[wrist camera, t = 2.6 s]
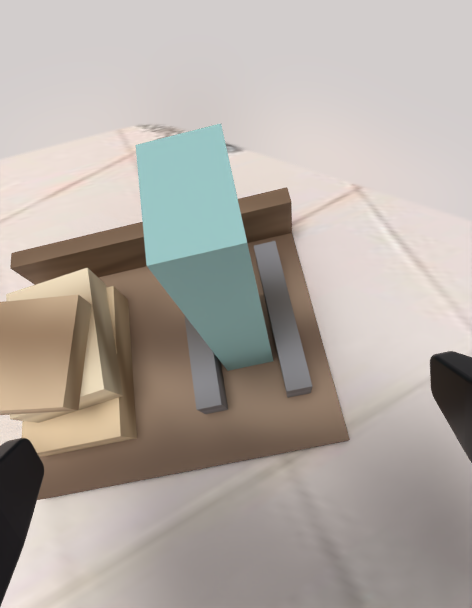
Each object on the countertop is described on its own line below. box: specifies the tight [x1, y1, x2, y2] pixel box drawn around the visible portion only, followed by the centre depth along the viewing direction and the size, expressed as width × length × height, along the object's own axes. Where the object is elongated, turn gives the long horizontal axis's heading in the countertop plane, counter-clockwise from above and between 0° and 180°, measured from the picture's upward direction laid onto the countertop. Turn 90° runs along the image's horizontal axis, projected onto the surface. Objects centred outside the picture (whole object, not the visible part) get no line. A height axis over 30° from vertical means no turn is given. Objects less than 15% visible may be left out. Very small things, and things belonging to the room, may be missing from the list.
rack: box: [0, 188, 350, 500], centre depth 19 cm, size 13×16×6 cm
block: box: [136, 124, 273, 371], centre depth 15 cm, size 4×2×12 cm, turn 10°
